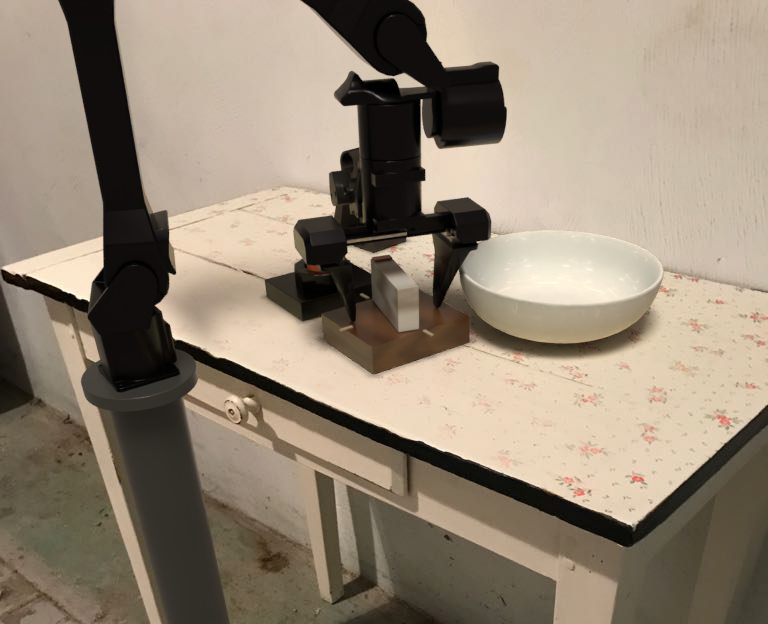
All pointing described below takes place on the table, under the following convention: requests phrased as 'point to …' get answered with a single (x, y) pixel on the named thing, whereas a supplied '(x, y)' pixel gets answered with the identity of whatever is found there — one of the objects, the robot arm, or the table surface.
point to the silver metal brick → (395, 293)
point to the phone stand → (343, 211)
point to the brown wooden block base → (394, 333)
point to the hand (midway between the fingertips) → (395, 313)
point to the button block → (313, 290)
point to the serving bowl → (560, 284)
